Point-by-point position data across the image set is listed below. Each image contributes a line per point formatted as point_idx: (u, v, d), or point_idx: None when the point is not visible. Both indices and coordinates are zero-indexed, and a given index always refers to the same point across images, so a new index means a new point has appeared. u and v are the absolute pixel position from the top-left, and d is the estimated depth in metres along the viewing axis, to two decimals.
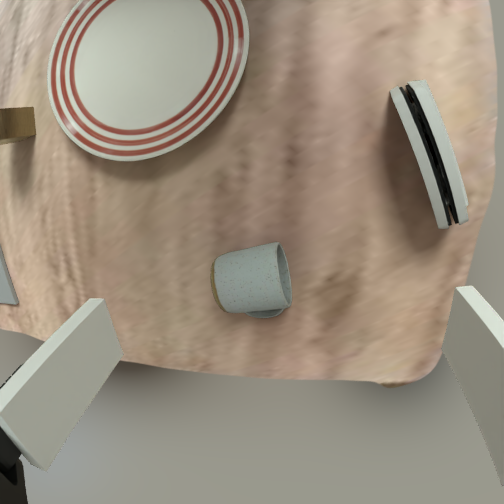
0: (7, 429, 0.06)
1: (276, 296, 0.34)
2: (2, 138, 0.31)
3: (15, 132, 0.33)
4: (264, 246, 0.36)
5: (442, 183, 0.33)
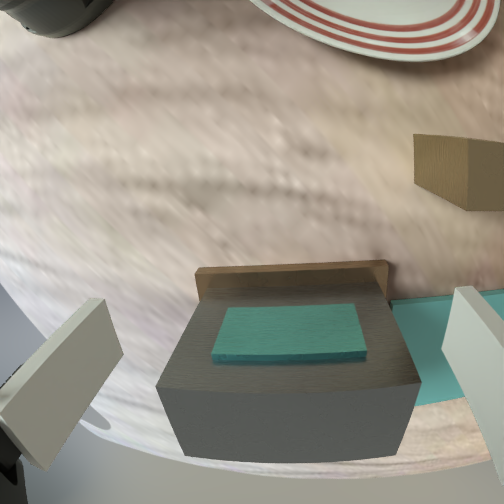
0: (7, 429, 0.06)
1: None
2: None
3: (472, 138, 0.20)
4: None
5: None
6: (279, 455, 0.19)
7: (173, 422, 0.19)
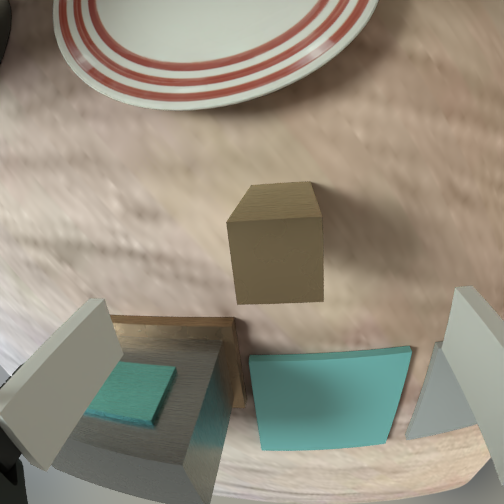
0: (7, 429, 0.06)
1: None
2: (314, 203, 0.17)
3: (302, 193, 0.20)
4: None
5: None
6: (109, 484, 0.20)
7: None
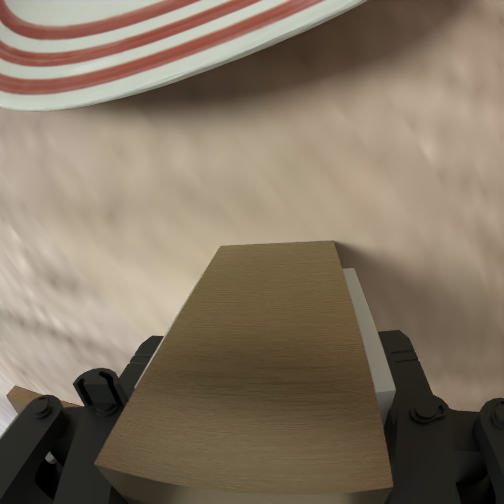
0: None
1: None
2: (361, 367, 0.06)
3: (323, 298, 0.08)
4: None
5: None
6: None
7: None
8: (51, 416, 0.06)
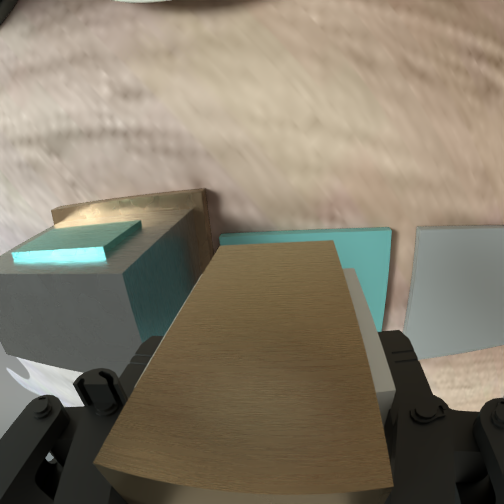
0: None
1: None
2: (361, 366, 0.06)
3: (323, 298, 0.08)
4: None
5: None
6: (54, 356, 0.20)
7: None
8: (51, 416, 0.06)
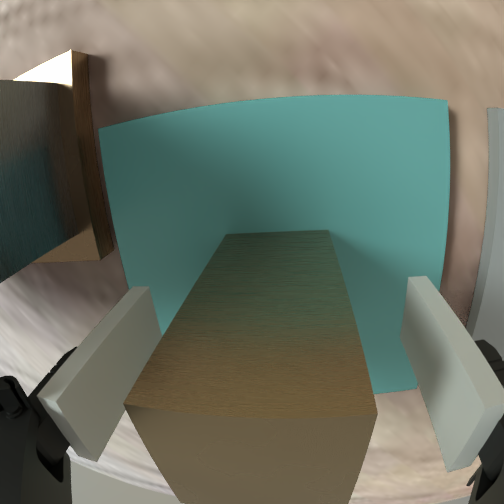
0: (60, 419, 0.06)
1: None
2: (349, 325, 0.07)
3: (318, 274, 0.10)
4: None
5: None
6: None
7: None
8: None
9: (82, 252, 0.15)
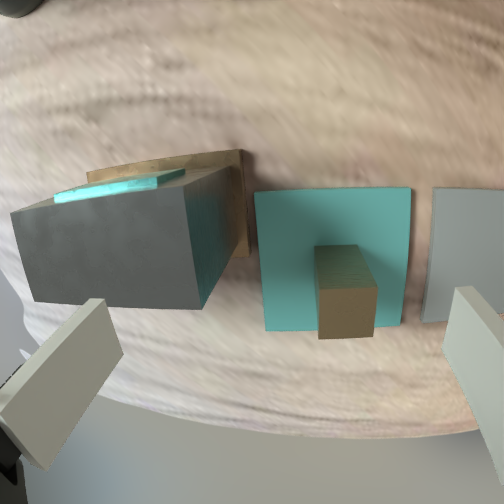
0: (7, 429, 0.06)
1: None
2: (369, 272, 0.25)
3: (357, 260, 0.28)
4: None
5: None
6: (91, 292, 0.22)
7: (21, 253, 0.22)
8: None
9: (238, 253, 0.34)
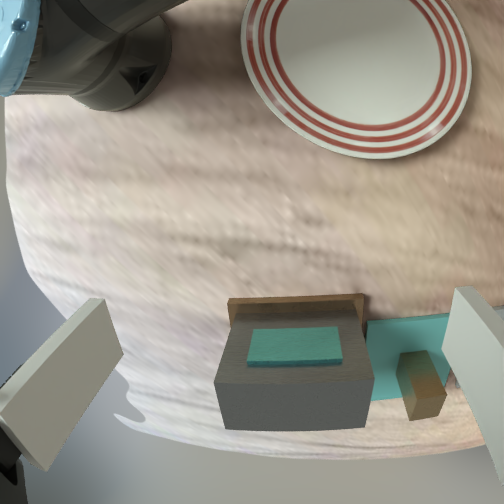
0: (7, 429, 0.06)
1: None
2: (440, 381, 0.35)
3: (431, 369, 0.38)
4: None
5: None
6: (288, 425, 0.32)
7: (221, 405, 0.32)
8: None
9: None
